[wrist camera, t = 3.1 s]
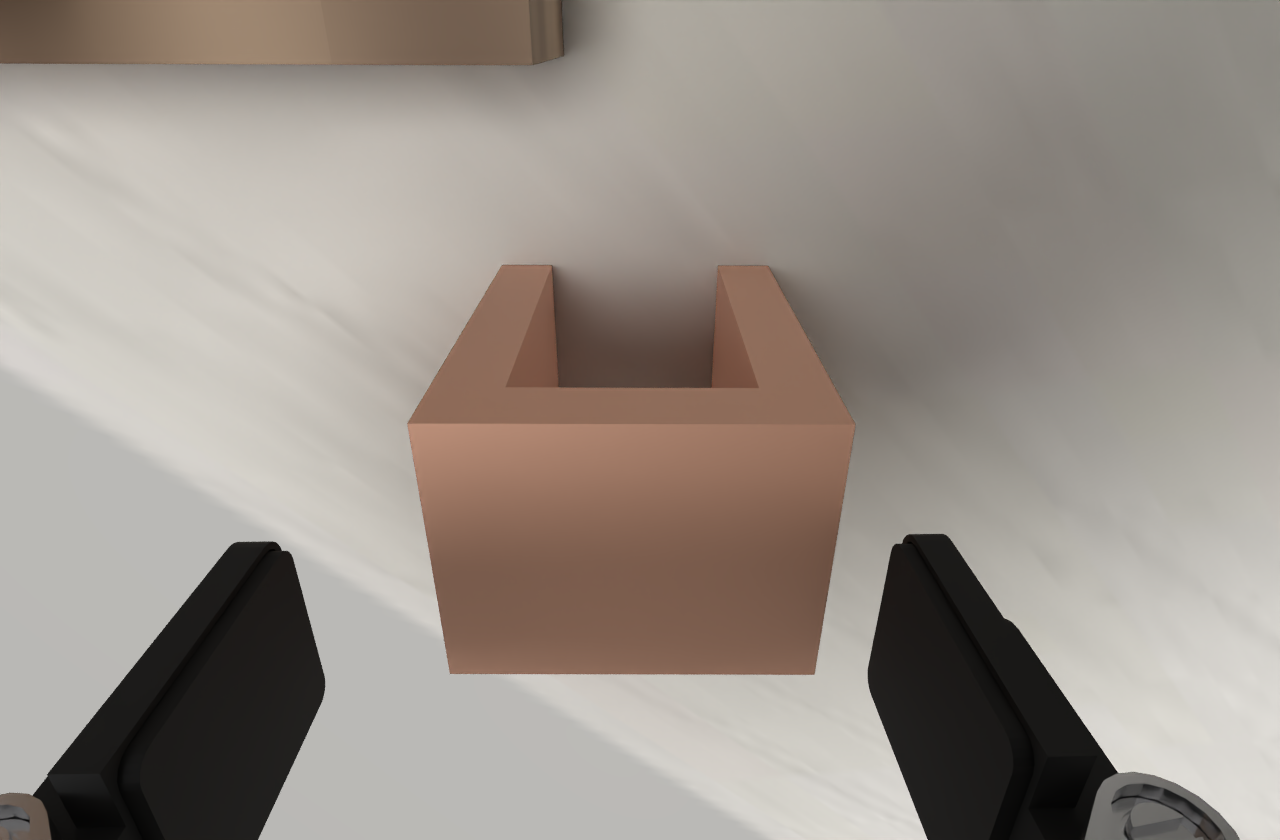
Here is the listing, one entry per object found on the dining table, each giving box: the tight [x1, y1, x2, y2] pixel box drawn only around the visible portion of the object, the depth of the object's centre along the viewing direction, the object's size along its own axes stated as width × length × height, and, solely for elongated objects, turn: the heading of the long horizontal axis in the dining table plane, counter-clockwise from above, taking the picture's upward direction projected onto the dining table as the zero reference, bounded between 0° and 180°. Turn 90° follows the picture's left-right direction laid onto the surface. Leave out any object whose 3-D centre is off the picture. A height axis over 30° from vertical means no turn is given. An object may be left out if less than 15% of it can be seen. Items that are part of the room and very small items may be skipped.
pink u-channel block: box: [407, 265, 855, 675], centre depth 15 cm, size 6×5×8 cm
